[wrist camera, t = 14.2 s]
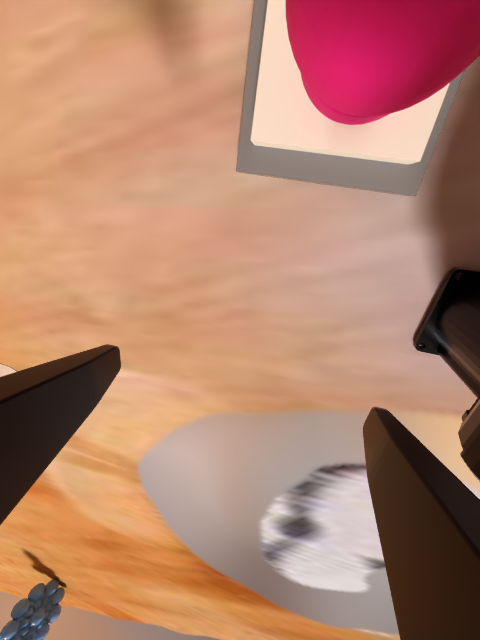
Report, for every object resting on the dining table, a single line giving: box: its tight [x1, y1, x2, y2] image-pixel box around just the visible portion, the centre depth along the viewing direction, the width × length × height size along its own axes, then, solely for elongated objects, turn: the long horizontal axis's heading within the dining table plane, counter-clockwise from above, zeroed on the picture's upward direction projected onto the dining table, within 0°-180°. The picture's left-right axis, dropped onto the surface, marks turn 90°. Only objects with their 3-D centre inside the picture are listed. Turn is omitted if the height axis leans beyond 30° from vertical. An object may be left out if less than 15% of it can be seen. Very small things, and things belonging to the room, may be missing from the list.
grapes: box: [0, 580, 65, 640], centre depth 57 cm, size 12×7×12 cm, turn 19°
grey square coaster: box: [236, 0, 465, 196], centre depth 13 cm, size 12×11×3 cm
